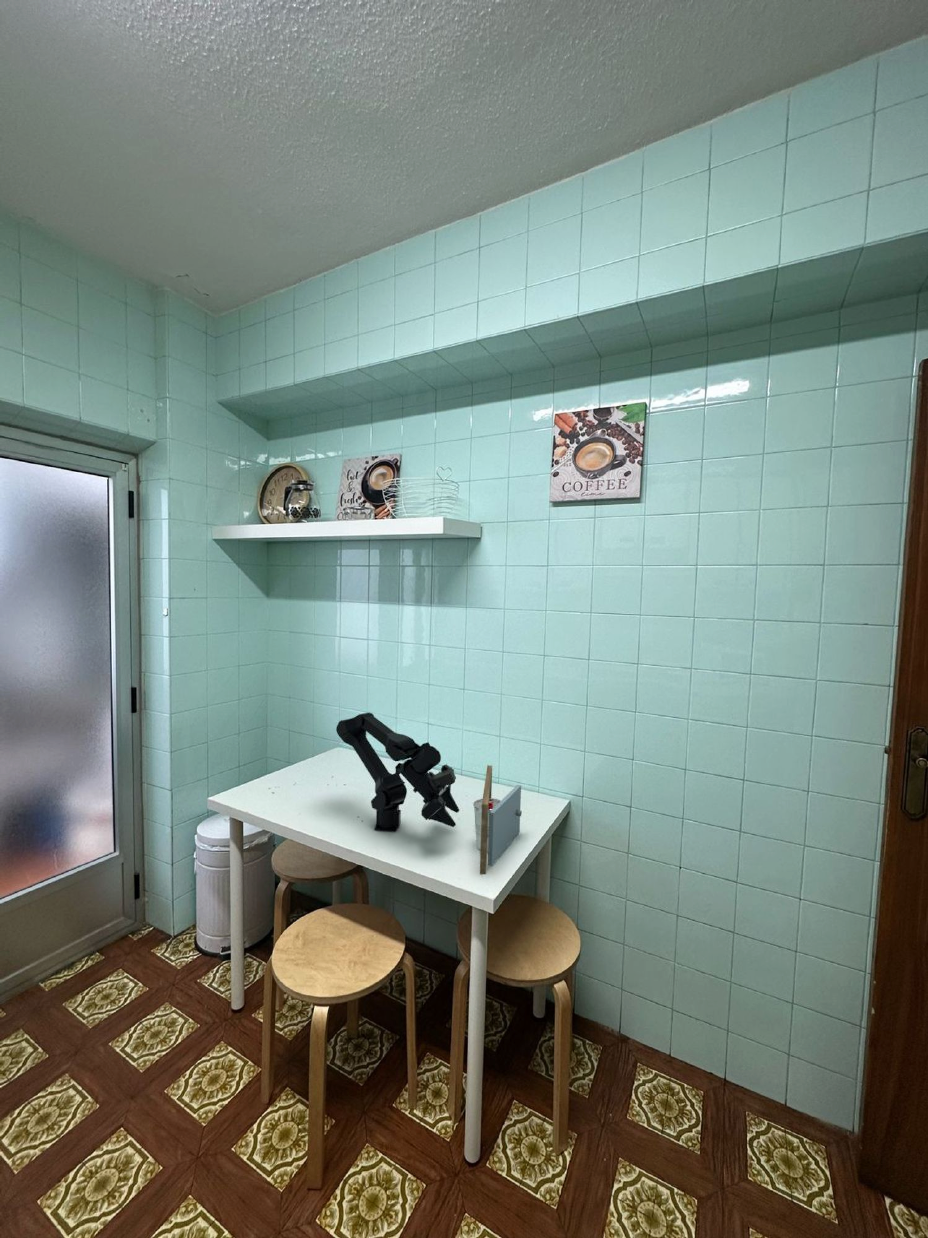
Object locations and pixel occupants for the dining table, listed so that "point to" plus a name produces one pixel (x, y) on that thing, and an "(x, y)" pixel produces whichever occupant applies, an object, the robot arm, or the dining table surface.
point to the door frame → (485, 819)
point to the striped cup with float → (478, 814)
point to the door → (504, 824)
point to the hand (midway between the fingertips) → (456, 818)
